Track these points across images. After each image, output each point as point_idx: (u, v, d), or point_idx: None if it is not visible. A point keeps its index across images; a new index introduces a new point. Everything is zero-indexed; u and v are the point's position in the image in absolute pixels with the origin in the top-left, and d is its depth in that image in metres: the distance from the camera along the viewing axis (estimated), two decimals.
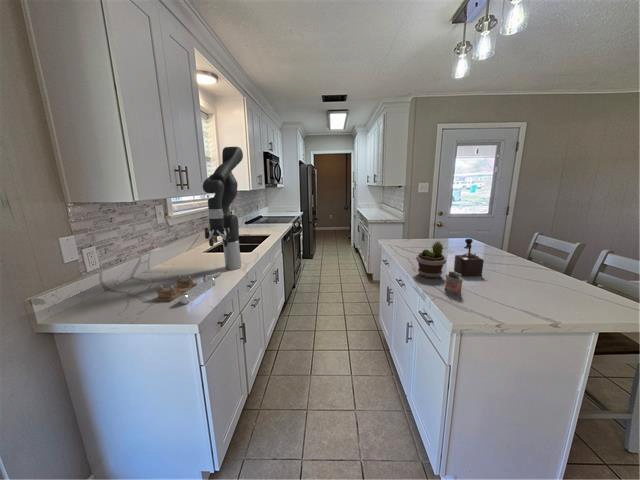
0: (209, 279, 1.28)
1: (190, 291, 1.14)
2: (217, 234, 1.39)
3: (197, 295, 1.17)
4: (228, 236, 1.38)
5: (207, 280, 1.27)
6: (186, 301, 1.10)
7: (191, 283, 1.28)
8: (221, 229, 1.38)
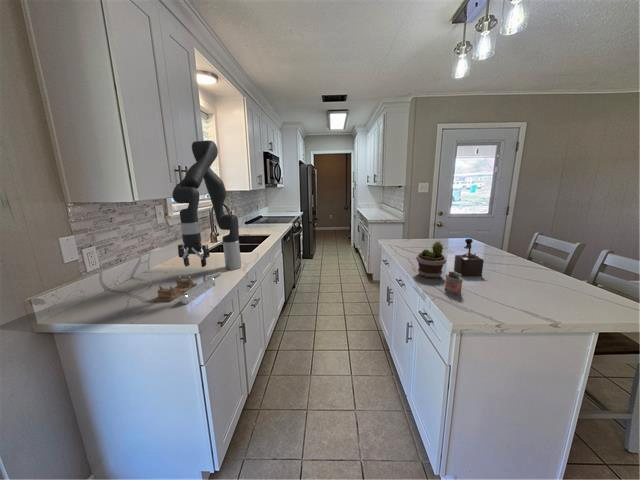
0: (209, 279, 1.28)
1: (190, 291, 1.14)
2: (193, 252, 1.15)
3: (197, 295, 1.17)
4: (206, 255, 1.14)
5: (207, 280, 1.27)
6: (186, 301, 1.10)
7: (191, 283, 1.28)
8: (197, 246, 1.14)
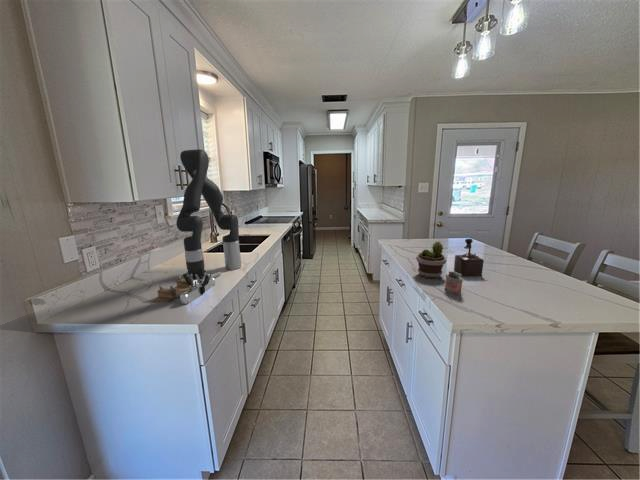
0: None
1: (190, 290, 1.14)
2: (194, 277, 1.18)
3: (197, 295, 1.17)
4: (205, 284, 1.17)
5: None
6: (186, 301, 1.10)
7: None
8: (201, 273, 1.17)
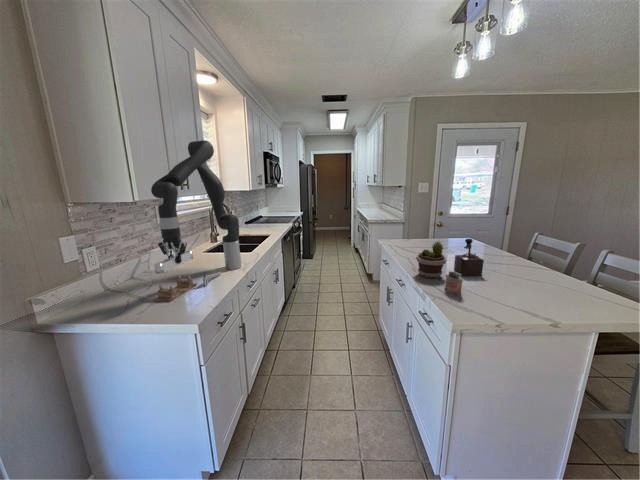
0: (187, 252, 1.26)
1: (165, 260, 1.13)
2: (170, 246, 1.16)
3: (173, 265, 1.15)
4: (181, 252, 1.16)
5: None
6: (160, 270, 1.08)
7: (191, 283, 1.28)
8: (176, 241, 1.15)
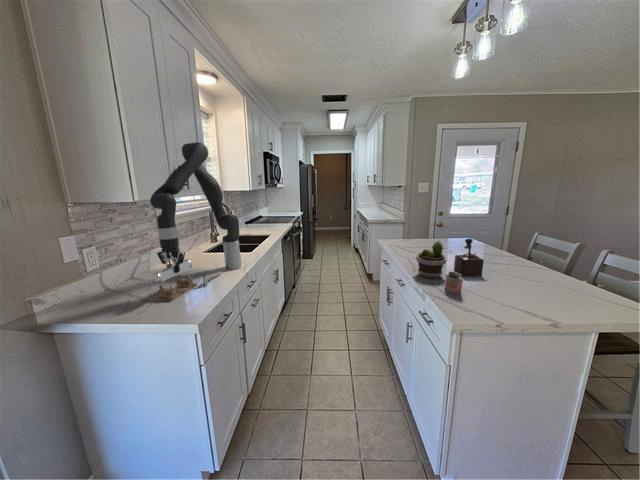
0: (185, 261, 1.28)
1: (163, 270, 1.14)
2: (168, 255, 1.18)
3: (171, 275, 1.17)
4: (179, 262, 1.17)
5: (183, 261, 1.26)
6: (158, 279, 1.10)
7: (191, 283, 1.28)
8: (175, 251, 1.16)
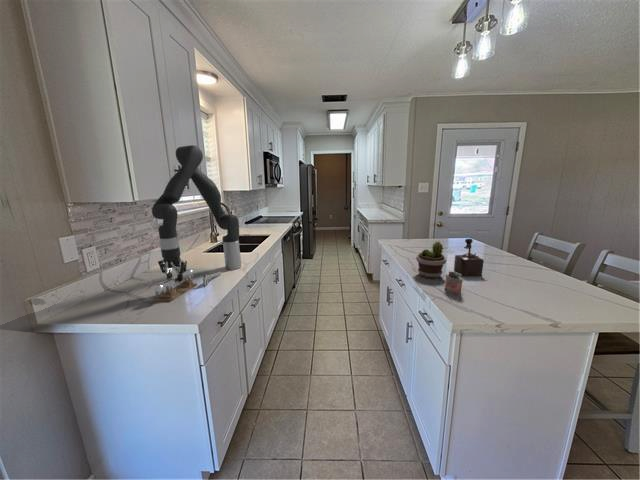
0: (187, 271, 1.29)
1: (165, 281, 1.15)
2: (171, 265, 1.19)
3: (173, 286, 1.18)
4: (182, 271, 1.18)
5: None
6: (161, 291, 1.11)
7: (191, 283, 1.28)
8: (176, 261, 1.17)
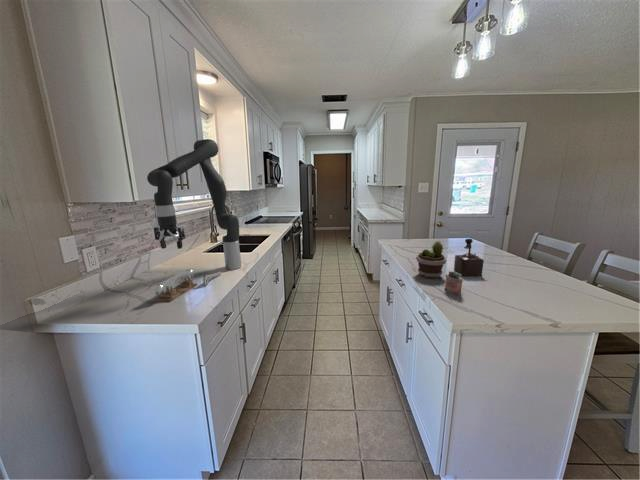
0: (187, 271, 1.29)
1: (165, 281, 1.15)
2: (168, 234, 1.18)
3: (173, 286, 1.18)
4: (181, 237, 1.17)
5: (185, 271, 1.28)
6: (161, 291, 1.11)
7: (191, 283, 1.28)
8: (172, 229, 1.17)
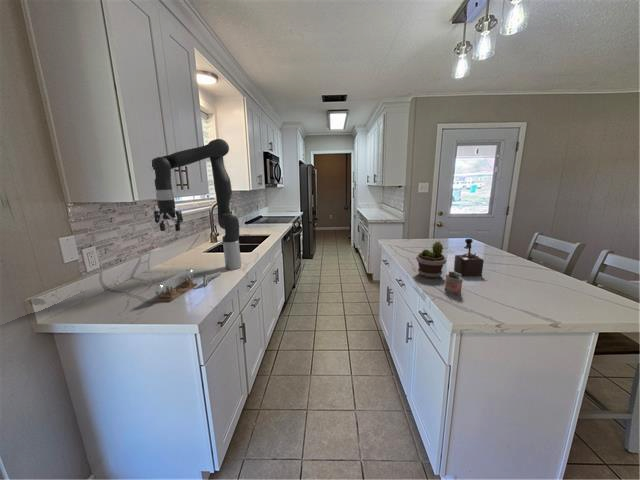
0: (187, 271, 1.29)
1: (165, 281, 1.15)
2: (167, 217, 1.27)
3: (173, 286, 1.18)
4: (179, 219, 1.26)
5: (185, 271, 1.28)
6: (161, 291, 1.11)
7: (191, 283, 1.28)
8: (171, 212, 1.26)
